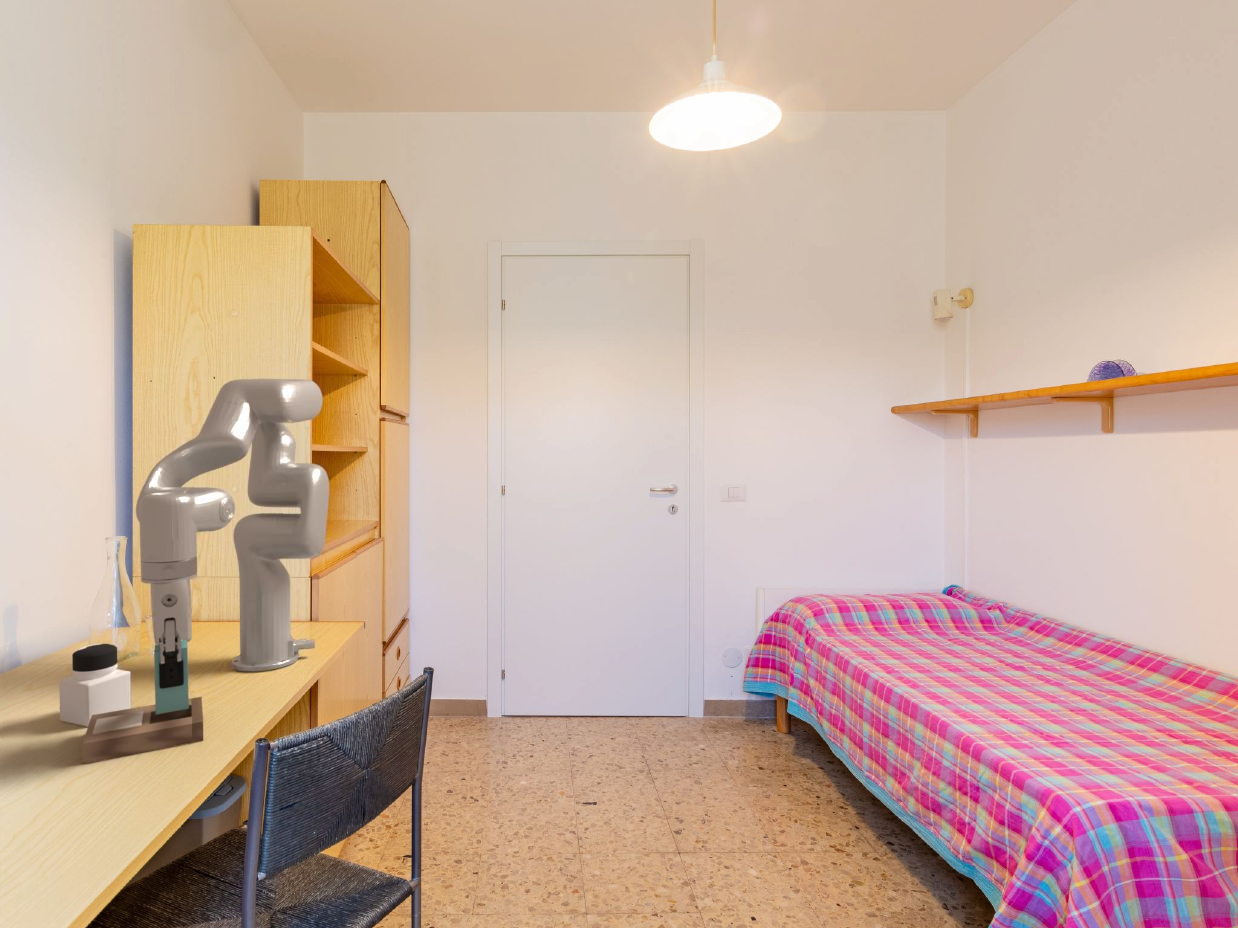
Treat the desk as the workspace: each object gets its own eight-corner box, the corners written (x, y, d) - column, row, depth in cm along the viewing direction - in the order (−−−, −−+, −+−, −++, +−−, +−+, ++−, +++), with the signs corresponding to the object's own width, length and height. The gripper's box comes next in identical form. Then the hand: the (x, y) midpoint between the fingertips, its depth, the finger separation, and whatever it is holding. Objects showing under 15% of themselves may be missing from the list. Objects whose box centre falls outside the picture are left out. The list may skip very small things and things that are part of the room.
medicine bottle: (132, 711, 118) (131, 643, 117) (88, 727, 111) (87, 655, 110) (103, 705, 120) (102, 638, 120) (59, 721, 113) (57, 650, 113)
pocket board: (201, 713, 117) (201, 695, 117) (203, 740, 107) (203, 720, 107) (92, 733, 109) (91, 713, 109) (82, 764, 99) (82, 742, 99)
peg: (188, 699, 113) (187, 640, 112) (188, 708, 109) (187, 647, 109) (156, 704, 111) (155, 644, 110) (155, 714, 107) (154, 652, 106)
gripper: (197, 577, 104) (200, 694, 105) (196, 558, 118) (198, 661, 119) (137, 582, 100) (140, 704, 101) (143, 562, 114) (146, 669, 115)
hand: (172, 680), depth 110 cm, fingers closed on peg, 4 cm apart
